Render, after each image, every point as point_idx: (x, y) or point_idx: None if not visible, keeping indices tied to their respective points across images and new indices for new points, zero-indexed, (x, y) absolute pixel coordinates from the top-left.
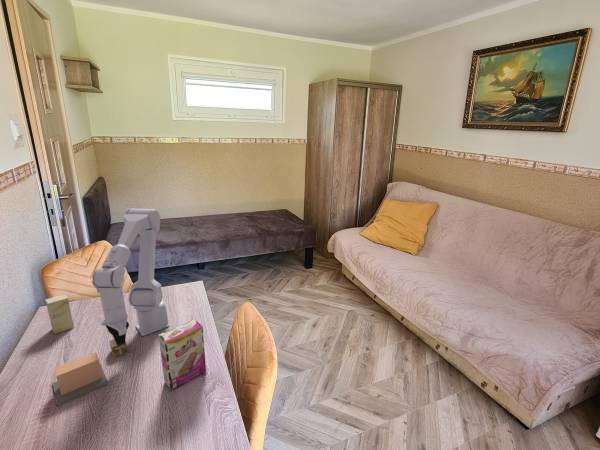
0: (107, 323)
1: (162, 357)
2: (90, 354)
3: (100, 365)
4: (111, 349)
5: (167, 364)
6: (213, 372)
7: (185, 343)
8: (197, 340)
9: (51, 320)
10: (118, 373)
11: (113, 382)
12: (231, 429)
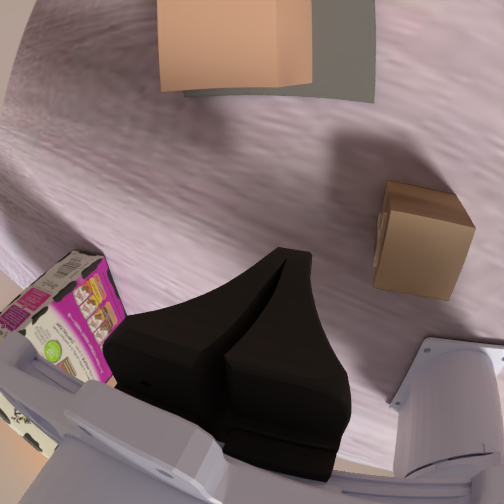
0: (68, 430)
1: (22, 318)
2: (271, 41)
3: (354, 97)
4: (439, 199)
5: (8, 305)
6: None
7: None
8: None
9: None
10: (233, 150)
11: (185, 116)
12: (4, 265)
